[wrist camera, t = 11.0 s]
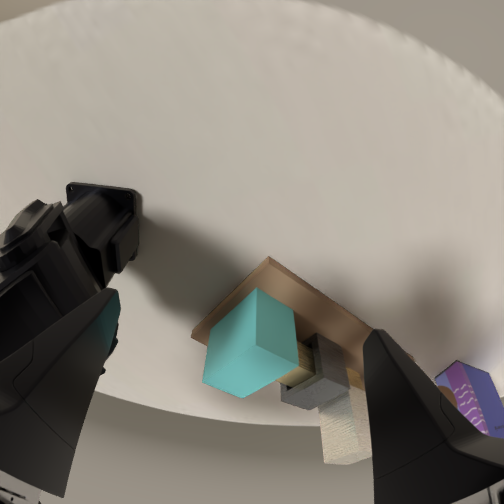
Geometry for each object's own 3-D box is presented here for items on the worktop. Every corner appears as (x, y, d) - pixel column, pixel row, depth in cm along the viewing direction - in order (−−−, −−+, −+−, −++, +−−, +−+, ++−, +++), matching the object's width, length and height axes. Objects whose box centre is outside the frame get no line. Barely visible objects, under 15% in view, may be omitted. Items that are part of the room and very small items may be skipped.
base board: (192, 330, 29) (190, 337, 28) (268, 256, 23) (268, 263, 23) (345, 398, 37) (345, 403, 36) (413, 357, 32) (415, 363, 31)
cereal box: (434, 377, 36) (470, 506, 16) (456, 360, 33) (500, 491, 13) (471, 386, 40) (502, 482, 20) (488, 372, 38) (523, 469, 18)
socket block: (210, 329, 27) (202, 382, 22) (256, 287, 24) (255, 344, 19) (245, 346, 28) (242, 398, 23) (293, 309, 25) (299, 365, 20)
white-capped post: (230, 337, 26) (220, 443, 17) (258, 314, 24) (256, 430, 15) (336, 386, 31) (348, 464, 22) (362, 370, 29) (380, 452, 20)
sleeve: (279, 357, 29) (281, 401, 25) (316, 332, 27) (323, 377, 23) (304, 369, 31) (309, 410, 26) (341, 346, 28) (350, 388, 24)
